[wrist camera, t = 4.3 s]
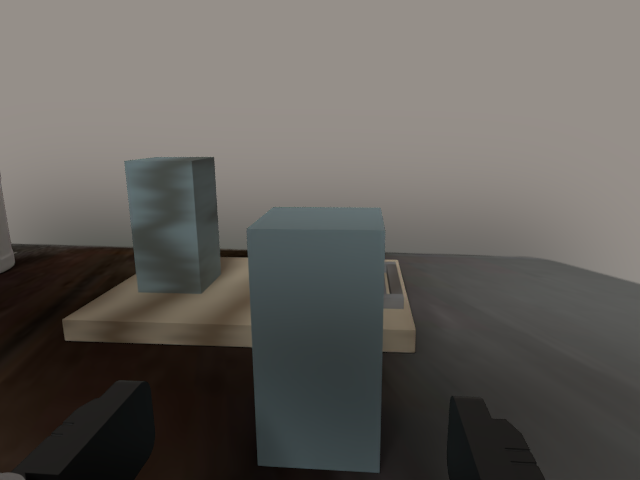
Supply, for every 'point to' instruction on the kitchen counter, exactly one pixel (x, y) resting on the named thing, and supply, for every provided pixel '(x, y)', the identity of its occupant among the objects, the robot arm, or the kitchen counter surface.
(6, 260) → the jar
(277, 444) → the pillar
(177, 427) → the kitchen counter surface
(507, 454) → the robot arm
